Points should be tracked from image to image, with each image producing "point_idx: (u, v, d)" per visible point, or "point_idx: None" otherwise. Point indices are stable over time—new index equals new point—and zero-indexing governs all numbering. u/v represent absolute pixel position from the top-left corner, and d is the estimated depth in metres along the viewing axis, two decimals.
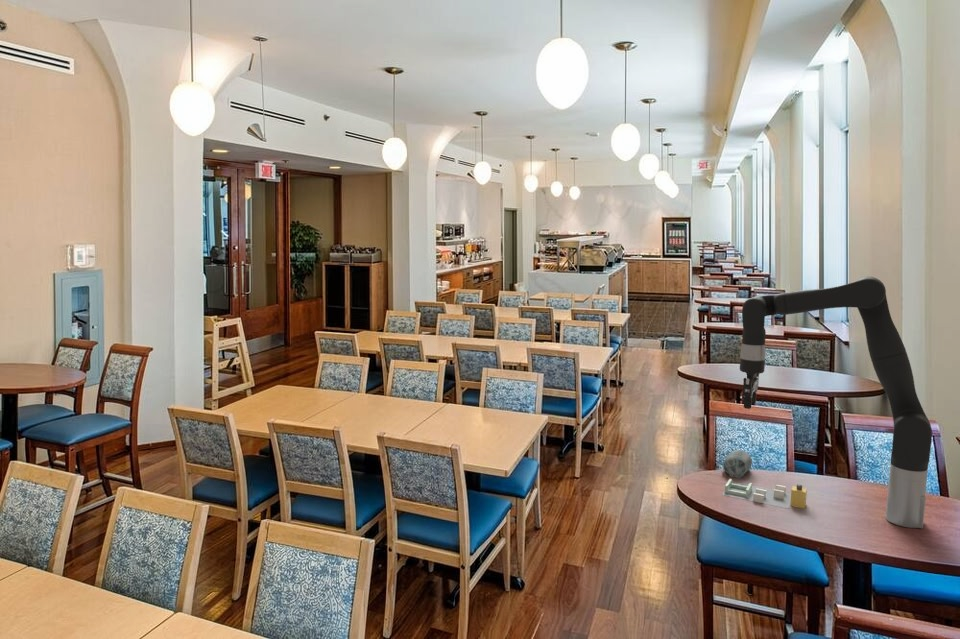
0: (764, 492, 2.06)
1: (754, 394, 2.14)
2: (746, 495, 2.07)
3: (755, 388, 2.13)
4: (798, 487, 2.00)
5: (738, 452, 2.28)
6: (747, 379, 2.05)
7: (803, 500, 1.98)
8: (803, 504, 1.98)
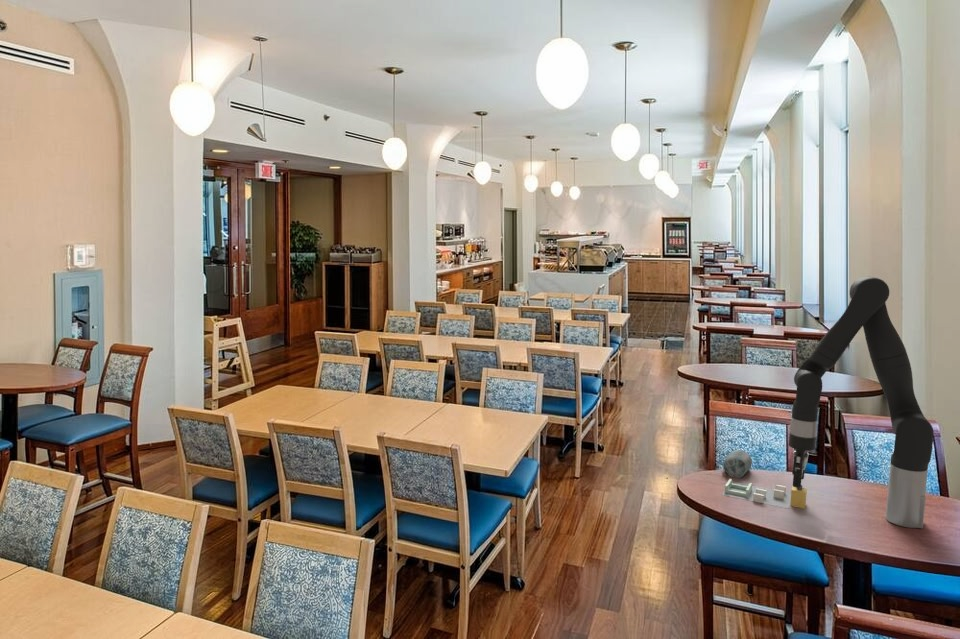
0: (764, 492, 2.06)
1: (802, 470, 2.03)
2: (746, 495, 2.07)
3: None
4: None
5: (738, 452, 2.28)
6: (798, 457, 1.94)
7: (803, 500, 1.98)
8: (803, 504, 1.98)
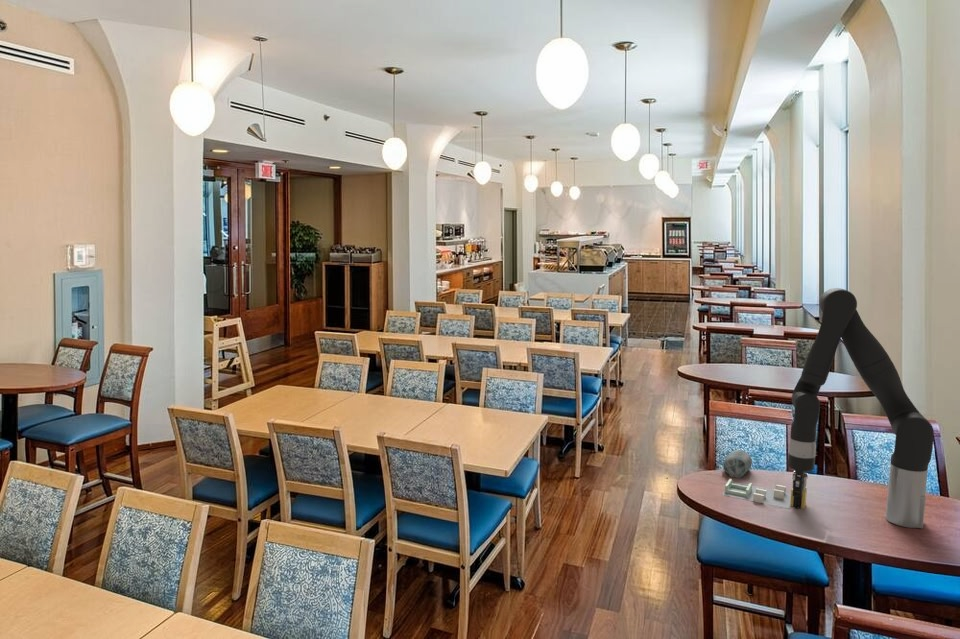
0: (764, 492, 2.06)
1: None
2: (746, 495, 2.07)
3: (803, 487, 2.01)
4: None
5: (738, 452, 2.28)
6: (797, 483, 1.95)
7: (803, 500, 1.98)
8: (803, 504, 1.98)
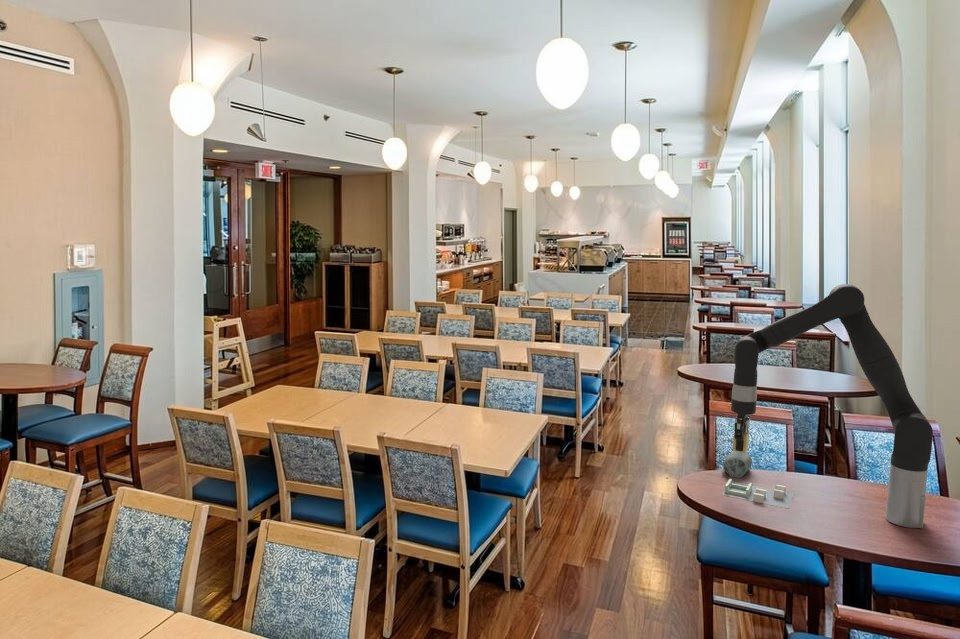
0: (764, 492, 2.06)
1: None
2: (746, 495, 2.07)
3: None
4: None
5: (738, 452, 2.28)
6: (738, 425, 2.03)
7: (744, 442, 2.07)
8: (744, 446, 2.07)
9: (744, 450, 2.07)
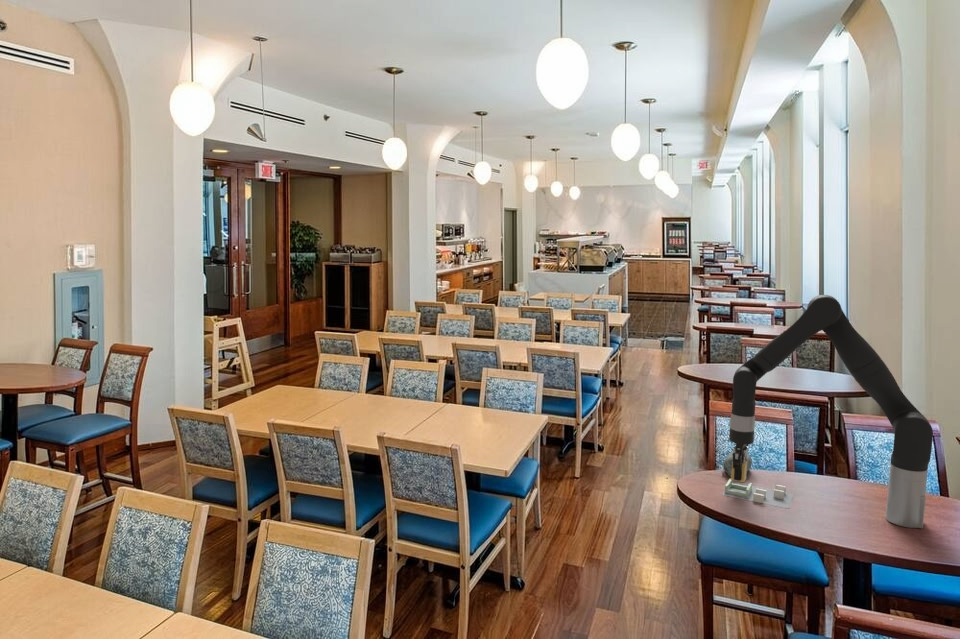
0: (764, 492, 2.06)
1: None
2: (746, 495, 2.07)
3: None
4: None
5: None
6: (736, 455, 2.04)
7: (743, 472, 2.08)
8: (743, 476, 2.08)
9: (742, 479, 2.08)
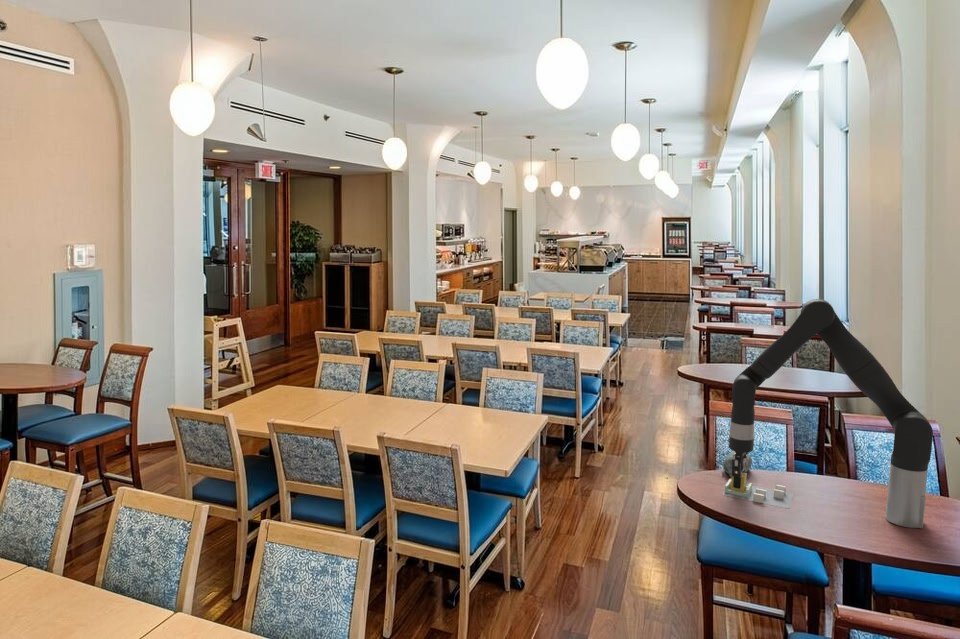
0: (764, 492, 2.06)
1: None
2: (746, 495, 2.07)
3: (744, 467, 2.12)
4: None
5: None
6: (736, 461, 2.04)
7: (742, 484, 2.09)
8: (742, 488, 2.09)
9: None
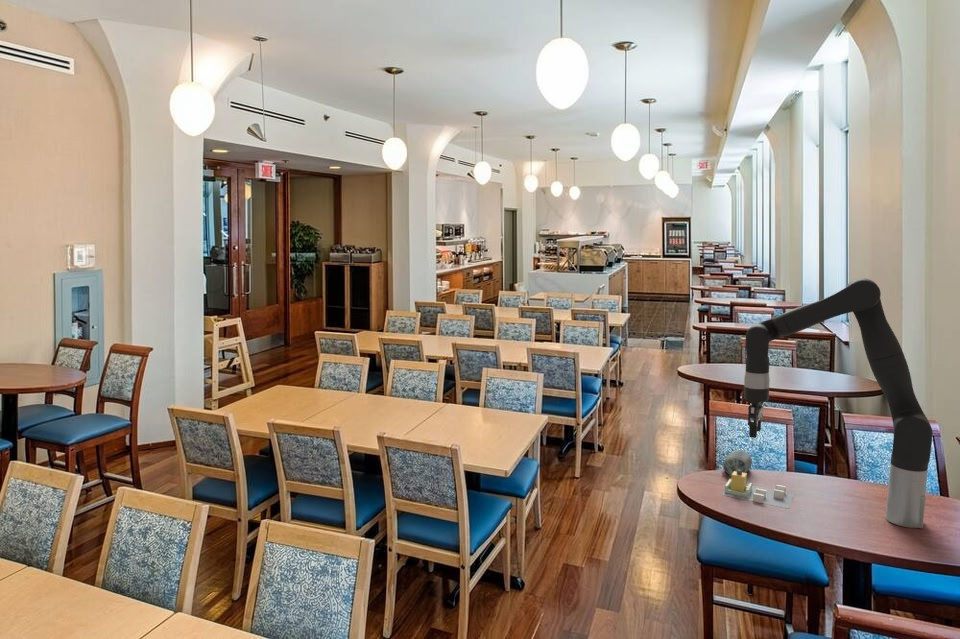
0: (764, 492, 2.06)
1: (759, 422, 2.12)
2: (746, 495, 2.07)
3: (760, 416, 2.11)
4: (738, 472, 2.10)
5: (738, 452, 2.28)
6: (752, 408, 2.03)
7: (742, 484, 2.09)
8: (742, 488, 2.09)
9: None
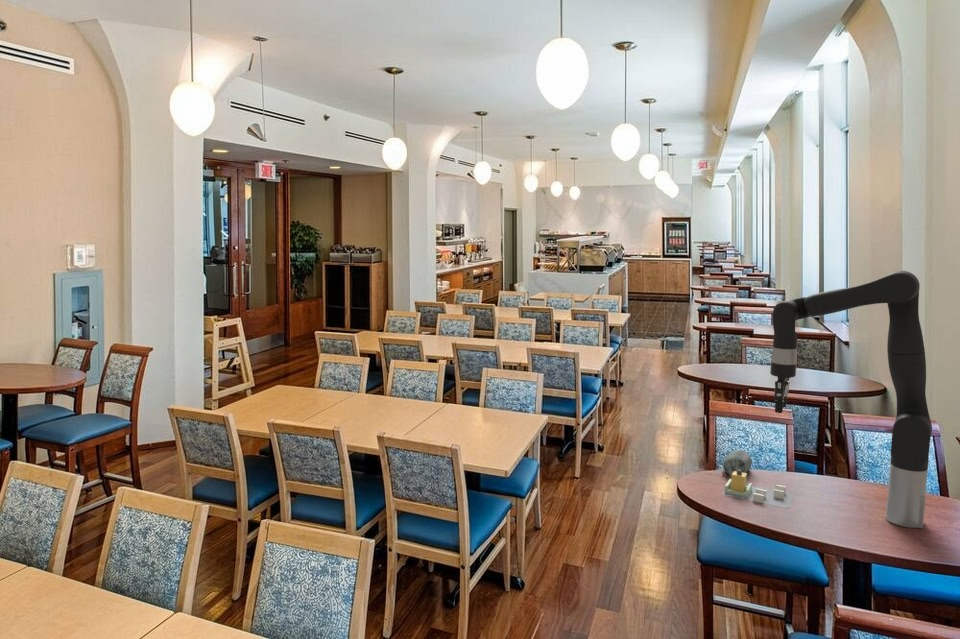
0: (764, 492, 2.06)
1: (784, 398, 2.13)
2: (746, 495, 2.07)
3: (786, 392, 2.12)
4: (738, 472, 2.10)
5: (738, 452, 2.28)
6: (779, 383, 2.04)
7: (742, 484, 2.09)
8: (742, 488, 2.09)
9: None
